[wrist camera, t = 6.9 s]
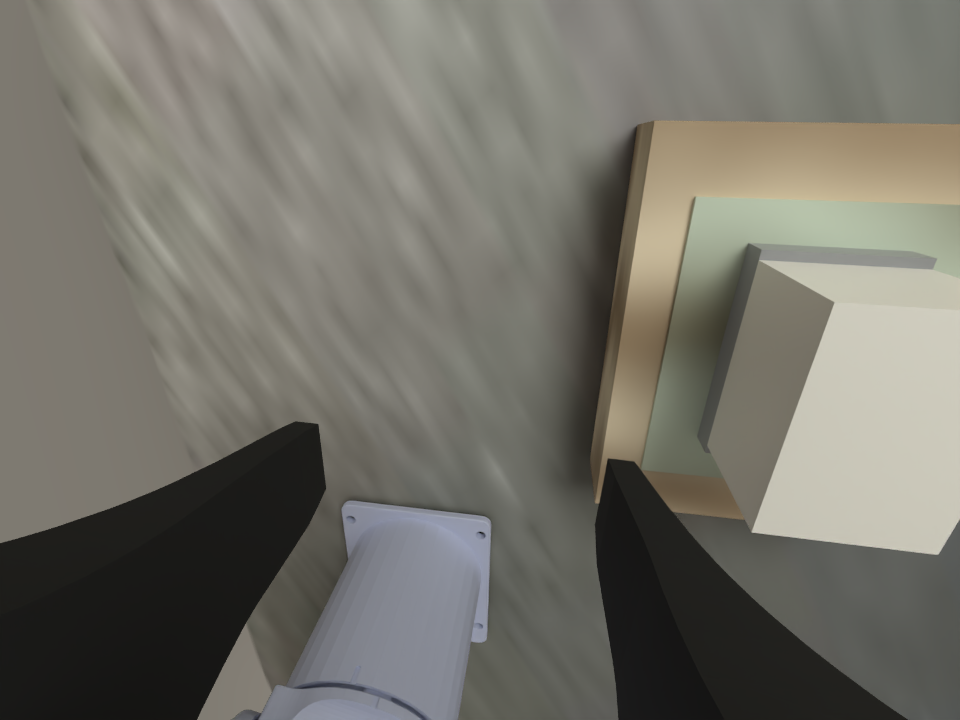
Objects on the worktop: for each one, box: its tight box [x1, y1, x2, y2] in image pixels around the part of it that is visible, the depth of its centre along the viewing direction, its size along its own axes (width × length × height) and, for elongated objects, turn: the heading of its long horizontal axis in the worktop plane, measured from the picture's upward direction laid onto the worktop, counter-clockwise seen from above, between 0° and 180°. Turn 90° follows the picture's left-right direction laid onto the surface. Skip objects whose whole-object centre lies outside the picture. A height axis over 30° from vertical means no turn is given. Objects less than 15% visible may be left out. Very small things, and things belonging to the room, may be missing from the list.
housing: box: [697, 243, 960, 555], centre depth 13 cm, size 7×4×5 cm, turn 178°
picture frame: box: [590, 121, 960, 520], centre depth 17 cm, size 14×11×3 cm
